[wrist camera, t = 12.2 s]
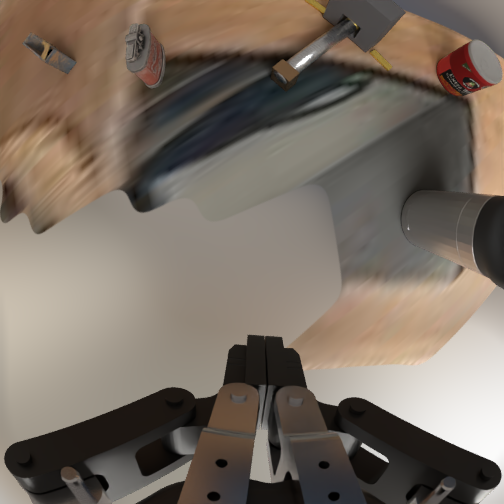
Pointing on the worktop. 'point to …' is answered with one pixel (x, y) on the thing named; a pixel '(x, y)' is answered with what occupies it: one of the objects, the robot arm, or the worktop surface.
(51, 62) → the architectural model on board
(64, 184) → the worktop surface
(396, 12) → the block
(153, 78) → the lighter
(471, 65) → the canned food
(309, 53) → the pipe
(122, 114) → the worktop surface
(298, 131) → the worktop surface
